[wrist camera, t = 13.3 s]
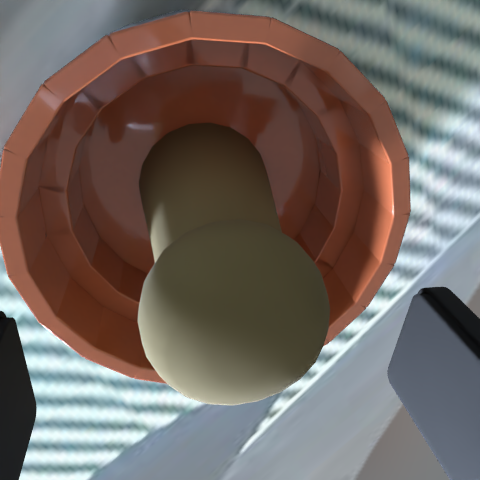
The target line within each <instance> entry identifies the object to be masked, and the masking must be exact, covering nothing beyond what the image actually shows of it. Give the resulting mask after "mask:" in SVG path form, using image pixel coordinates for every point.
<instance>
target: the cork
mask: <svg viewBox="0 0 480 480" xmlns="http://www.w3.org/2000/svg"><path fill="white" fill-rule="evenodd" d="M139 190H140V195H141V201H142V206H143V211H144V215H145V220H146V224H147V229H148V233H149V238H150V242H151V246H152V251H153V255H154V260H155V264H154V265H153V267H152V269H151V270H150V272H149V274H148V275H147V277H146V279H145V281H144V284H143V289H142V294H141V298H140V303H139V310H138V320H137V321H138V326H139V330H140V335H141V340H142V345H143V348H144V351H145V354H146V357H147V359H148V360H149V362H150V363H151V365H152V366H153V367H154V369H155V370H156V372H157V373H158V374H159V376H160V377H161V378H162V379H163V380H164V381H165V382H166V383H167V384H168V385H169V386H171V387H172V388H174V389H175V390H177V391H178V392H180V393H181V394H182V395H184V396H185V397H187V398H191V399H194V400H197V401H200V402H204V403H207V404H217V405H238V404H244V403H250V402H256V401H259V400H262V399H265V398H267V397H270V396H272V395H275V394H277V393H280V392H281V391H283V390H285V389H286V388H288V387H289V386H291V385H292V384H294V383H295V382H297V381H298V380H300V379H301V378H302V376H303V375H304V374H305V373H306V372H307V371H308V370H309V369H310V368H311V367H312V365H313V364H314V363H315V362H316V360H317V358H318V356H319V354H320V351H321V349H322V347H323V345H324V343H325V340H326V336H327V333H328V327H329V317H330V304H329V299H328V294H327V291H326V287H325V284H324V281H323V278H322V275H321V272H320V271H319V269H318V268H317V266H316V264H315V263H314V261H313V260H312V259H311V258H310V256H309V255H308V254H307V253H306V252H305V251H304V249H303V248H302V247H301V246H300V245H299V244H298V243H297V242H296V241H295V240H293V239H292V238H290V237H289V236H287V235H285V234H284V233H282V230H281V226H280V222H279V218H278V214H277V210H276V206H275V202H274V198H273V194H272V190H271V186H270V182H269V179H268V175H267V171H266V168H265V165H264V162H263V159H262V157H261V154H260V153H259V151H258V150H257V149H256V148H255V146H254V145H253V144H252V143H251V141H250V140H249V139H248V138H247V137H245V136H243V135H242V134H240V133H239V132H237V131H236V130H234V129H232V128H231V127H227V126H223V125H218V124H214V123H197V124H188V125H185V126H183V127H180V128H178V129H176V130H173V131H171V132H168V133H167V134H166V135H165V136H164V137H163V138H161V139H160V140H159V141H158V142H157V143H156V144H155V145H153V146H152V148H151V150H150V151H149V153H148V155H147V157H146V158H145V160H144V162H143V164H142V167H141V173H140V179H139Z"/></svg>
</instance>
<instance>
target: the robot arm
mask: <svg viewBox="0 0 480 480" xmlns="http://www.w3.org/2000/svg"><path fill="white" fill-rule="evenodd" d="M388 379H389V382H390V384H391V385H392V387H393V389H394V390H395V392H396V394H397V395H398V397H399V398H400V400H401V402H402V403H403V405H404V406H405V408H406V410H407V411H408V413H409V415H410V416H411V418H412V419H413V421H414V422H415V424H416V426H417V427H418V429H419V431H420V432H421V434H422V435H423V437H424V439H425V440H426V442H427V443H428V445H429V447H430V448H431V450H432V452H433V453H434V455H435V456H436V458H437V460H438V461H439V463H440V464H441V466H442V468H443V469H444V471H445V473H446V474H447V476H448V477H449V479H450V480H480V319H479V318H478V317H477V316H476V315H475V314H474V313H473V312H472V311H471V310H470V309H469V308H468V307H467V306H466V305H465V304H464V303H463V302H462V301H461V300H460V299H459V298H458V297H457V296H456V295H455V294H454V293H453V292H452V291H451V290H449V289H448V288H446V287H432V288H422V289H421V290H420V291H419V292H418V294H416V295H415V296H414V297H413V299H412V301H411V304H410V307H409V310H408V313H407V316H406V318H405V321H404V324H403V327H402V330H401V333H400V336H399V338H398V341H397V344H396V347H395V350H394V353H393V356H392V358H391V361H390V364H389V367H388ZM35 418H36V401H35V397H34V393H33V389H32V385H31V381H30V377H29V373H28V369H27V365H26V361H25V357H24V353H23V349H22V345H21V341H20V337H19V333H18V329H17V325H16V322H15V319H14V318H6V315H5V313H4V312H2V311H0V480H19V476H20V473H21V469H22V466H23V462H24V458H25V455H26V451H27V448H28V444H29V440H30V437H31V433H32V430H33V426H34V422H35Z"/></svg>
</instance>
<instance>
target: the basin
mask: <svg viewBox="0 0 480 480" xmlns="http://www.w3.org/2000/svg"><path fill="white" fill-rule="evenodd" d="M197 123H214V124H218V125H223V126H227V127H231V128H232V129H234V130H236V131H237V132H239V133H240V134H242V135H243V136H245V137H247V138H248V139H249V140H250V141H251V143H252V144H253V145H254V146H255V148H256V149H257V150H258V151H259V153H260V154H261V157H262V159H263V162H264V165H265V168H266V171H267V175H268V179H269V182H270V186H271V190H272V194H273V198H274V202H275V206H276V210H277V214H278V218H279V222H280V226H281V230H282V233H284V234H285V235H287V236H289V237H290V238H292V239H293V240H295V241H296V242H297V243H298V244H299V245H300V246H301V247H302V248H303V249H304V251H305V252H306V253H307V254H308V255H309V256H310V258H311V259H312V260H313V261H314V263H315V264H316V266H317V268H318V269H319V271H320V272H321V275H322V278H323V281H324V284H325V287H326V291H327V294H328V299H329V304H330V317H329V327H328V333H327V336H326V340H325V343H324V345H323V346H325V345H326V344H328V343H329V342H330V341H332V340H333V339H334V338H335V337H336V336H337V335H338V334H339V333H340V332H341V331H342V330H343V329H345V328H346V327H347V326H348V325H349V324H350V323H351V322H352V321H353V320H354V319H355V318H356V317H358V316H359V315H360V314H361V313H362V312H363V311H364V310H365V309H366V307H368V305H369V304H370V302H371V301H372V299H373V298H374V296H375V294H376V293H377V291H378V290H379V288H380V287H381V285H382V284H383V282H384V280H385V279H386V277H387V276H388V274H389V273H390V271H391V270H392V268H393V266H394V264H395V263H396V259H397V256H398V253H399V249H400V246H401V243H402V239H403V236H404V233H405V229H406V226H407V223H408V219H409V216H410V212H411V209H410V174H409V157H408V153H407V150H406V148H405V145H404V143H403V140H402V138H401V135H400V133H399V130H398V128H397V125H396V123H395V120H394V118H393V115H392V113H391V110H390V108H389V105H388V103H387V101H386V100H385V97H384V96H383V95H382V94H381V93H380V92H379V91H378V90H377V89H376V88H375V87H374V86H373V85H372V84H371V82H370V81H369V80H368V79H367V78H366V77H365V76H364V75H363V74H362V73H361V72H360V71H359V70H358V69H357V67H356V66H355V65H354V64H353V63H352V62H351V61H350V60H349V59H348V58H347V57H346V56H345V55H344V54H343V53H342V51H339V49H338V48H336V47H333V46H331V45H329V44H327V43H325V42H323V41H321V40H319V39H317V38H315V37H313V36H310V35H308V34H306V33H304V32H302V31H300V30H298V29H296V28H294V27H292V26H290V25H287V24H285V23H283V22H281V21H279V20H277V19H275V18H271V17H267V16H256V15H245V14H234V13H222V12H209V11H197V10H185V9H183V10H177V11H173V12H170V13H166V14H163V15H159V16H156V17H152V18H149V19H145V20H142V21H138V22H135V23H131V24H128V25H125V26H123V27H121V28H119V29H117V30H115V31H113V32H111V33H109V34H107V35H105V36H104V37H103V38H101V39H100V40H99V41H97V42H96V43H95V44H93V45H92V46H91V47H89V48H88V49H87V50H85V51H84V52H83V53H81V54H80V55H79V56H77V57H76V58H75V59H73V60H72V61H71V62H69V63H68V64H67V65H65V66H64V67H63V68H61V69H60V70H59V71H57V72H56V73H55V74H53V75H52V76H51V77H49V78H48V79H47V80H45V81H44V83H43V84H42V85H41V86H40V87H39V89H38V91H37V92H36V94H35V96H34V97H33V99H32V101H31V102H30V104H29V106H28V107H27V109H26V111H25V112H24V114H23V115H22V117H21V119H20V120H19V122H18V124H17V125H16V127H15V129H14V130H13V132H12V134H11V135H10V137H9V139H8V140H7V142H6V144H5V145H4V149H3V153H2V160H1V166H0V246H1V250H2V254H3V258H4V262H5V267H6V271H7V274H8V277H9V279H10V280H11V282H12V283H13V285H14V286H15V288H16V289H17V291H18V292H19V294H20V295H21V297H22V298H23V300H24V301H25V303H26V304H27V306H28V307H29V309H30V310H31V312H32V313H33V314H34V316H35V317H36V319H37V320H38V322H39V323H41V325H42V326H44V327H45V328H46V329H47V330H49V331H50V332H51V333H52V334H54V335H55V336H56V337H58V338H59V339H60V340H61V341H63V342H64V343H65V344H66V345H68V346H69V347H70V348H72V349H73V350H74V351H75V352H77V353H78V354H79V355H80V356H82V357H85V359H87V360H90V361H92V362H94V363H97V364H99V365H102V366H104V367H107V368H109V369H111V370H114V371H116V372H119V373H121V374H123V375H126V376H128V377H131V378H135V379H139V380H146V381H153V382H159V383H166V382H165V381H164V380H163V379H162V378H161V377H160V376H159V374H158V373H157V372H156V370H155V369H154V367H153V366H152V365H151V363H150V362H149V360H148V359H147V357H146V354H145V351H144V348H143V345H142V340H141V335H140V330H139V326H138V321H137V320H138V310H139V303H140V298H141V294H142V289H143V284H144V281H145V279H146V277H147V275H148V274H149V272H150V270H151V269H152V267H153V265H154V264H155V260H154V255H153V251H152V246H151V242H150V238H149V233H148V229H147V224H146V220H145V215H144V211H143V206H142V201H141V195H140V190H139V179H140V173H141V167H142V164H143V162H144V160H145V158H146V157H147V155H148V153H149V151H150V150H151V148H152V146H153V145H155V144H156V143H157V142H158V141H159V140H160V139H161V138H163V137H164V136H165V135H166V134H167V133H168V132H171V131H173V130H176V129H178V128H180V127H183V126H185V125H188V124H197ZM166 384H167V383H166Z"/></svg>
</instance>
